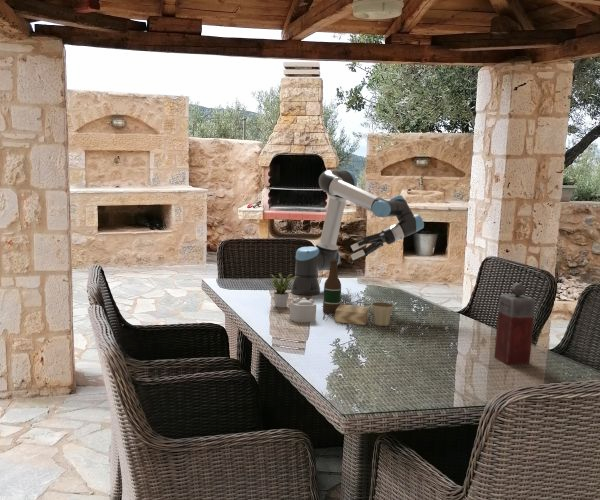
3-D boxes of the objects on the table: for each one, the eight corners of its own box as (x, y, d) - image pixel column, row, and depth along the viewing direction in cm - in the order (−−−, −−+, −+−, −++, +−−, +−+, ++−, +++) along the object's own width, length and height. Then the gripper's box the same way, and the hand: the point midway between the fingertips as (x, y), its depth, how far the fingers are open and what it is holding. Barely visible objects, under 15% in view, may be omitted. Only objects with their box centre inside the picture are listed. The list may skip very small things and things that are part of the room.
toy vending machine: (512, 355, 245) (519, 280, 241) (529, 364, 234) (537, 285, 230) (490, 355, 243) (497, 279, 239) (506, 364, 232) (513, 285, 228)
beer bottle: (340, 314, 298) (343, 261, 295) (322, 313, 298) (325, 260, 295) (339, 310, 306) (342, 258, 303) (322, 309, 306) (325, 258, 303)
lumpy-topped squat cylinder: (294, 322, 279) (295, 302, 278) (286, 315, 291) (287, 296, 290) (317, 322, 282) (318, 302, 281) (308, 315, 294) (309, 295, 293)
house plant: (300, 304, 316) (301, 270, 314) (297, 310, 302) (298, 274, 300) (270, 302, 317) (271, 268, 315) (266, 308, 303) (267, 272, 301)
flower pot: (391, 328, 277) (393, 307, 276) (369, 325, 279) (370, 305, 278) (393, 322, 287) (394, 303, 285) (371, 320, 288) (372, 301, 287)
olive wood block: (334, 321, 283) (335, 310, 283) (339, 315, 296) (339, 304, 295) (365, 324, 281) (366, 313, 280) (368, 318, 293) (369, 307, 293)
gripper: (397, 231, 300) (355, 251, 299) (394, 249, 324) (355, 268, 322) (390, 217, 303) (348, 237, 301) (387, 236, 326) (348, 254, 325)
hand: (351, 253), depth 312 cm, fingers open, 13 cm apart
